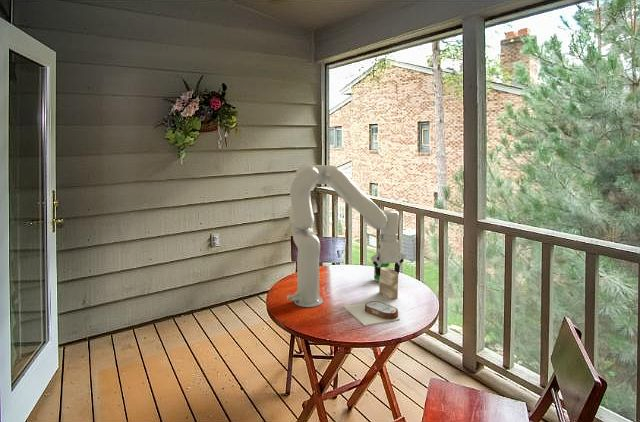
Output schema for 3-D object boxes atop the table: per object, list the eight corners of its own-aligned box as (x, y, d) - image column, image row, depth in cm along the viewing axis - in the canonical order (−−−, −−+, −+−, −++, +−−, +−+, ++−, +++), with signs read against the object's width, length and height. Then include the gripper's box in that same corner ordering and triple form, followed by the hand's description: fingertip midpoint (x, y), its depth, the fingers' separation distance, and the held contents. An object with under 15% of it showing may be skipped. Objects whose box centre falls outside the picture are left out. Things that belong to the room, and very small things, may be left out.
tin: (373, 305, 188) (360, 311, 182) (373, 298, 187) (360, 304, 181) (402, 315, 177) (389, 322, 171) (402, 308, 176) (389, 315, 171)
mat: (364, 326, 168) (364, 324, 168) (343, 307, 187) (343, 306, 187) (399, 320, 174) (399, 318, 174) (375, 302, 192) (375, 301, 192)
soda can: (373, 278, 225) (373, 255, 223) (388, 278, 225) (388, 255, 222) (374, 283, 217) (375, 259, 215) (390, 283, 217) (390, 259, 215)
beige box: (389, 299, 195) (390, 273, 193) (379, 292, 205) (379, 267, 203) (397, 298, 197) (398, 273, 195) (386, 291, 206) (387, 266, 204)
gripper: (376, 240, 190) (374, 278, 193) (410, 238, 196) (408, 275, 199) (368, 236, 197) (366, 273, 200) (401, 234, 203) (399, 270, 206)
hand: (387, 274), depth 199 cm, fingers open, 9 cm apart
